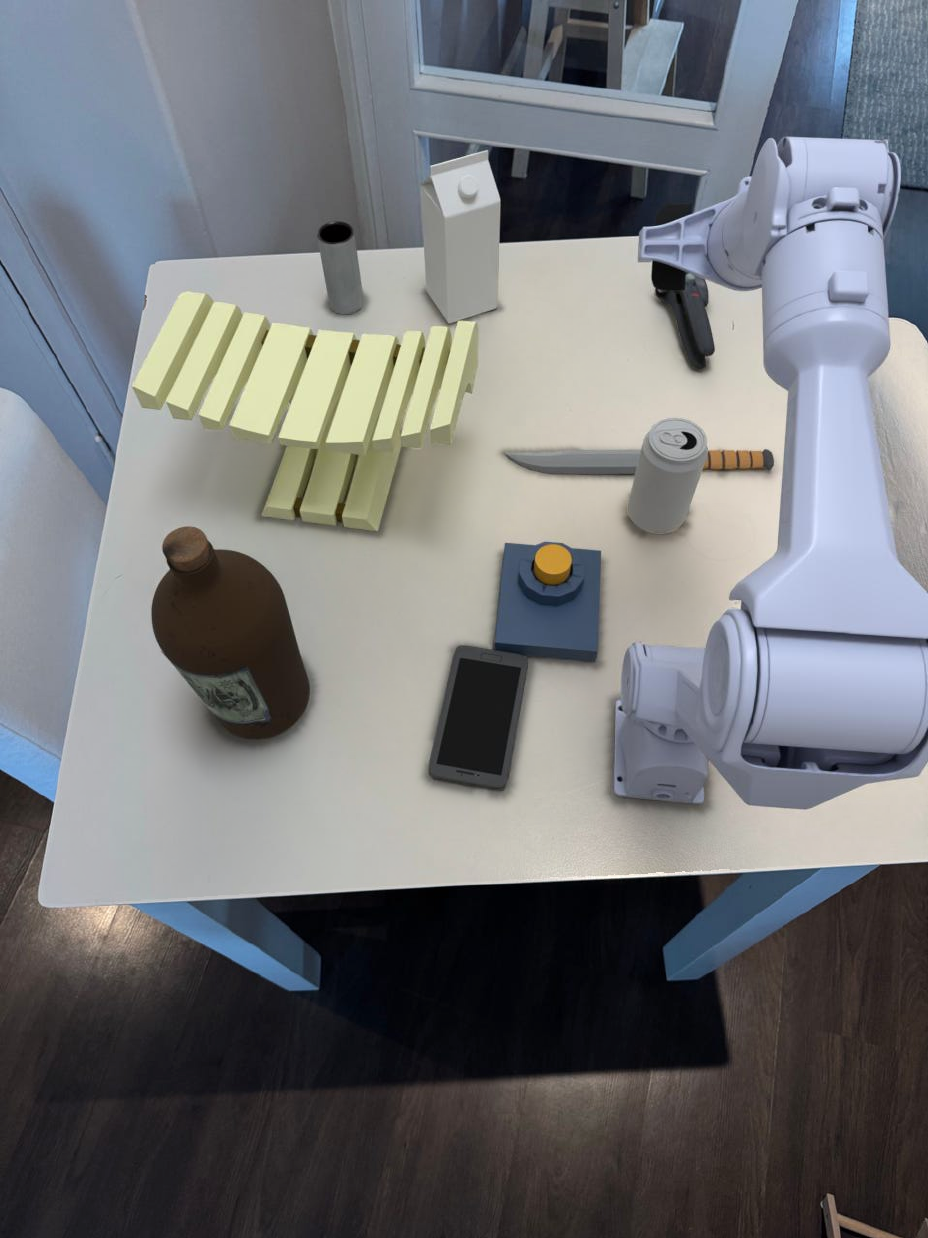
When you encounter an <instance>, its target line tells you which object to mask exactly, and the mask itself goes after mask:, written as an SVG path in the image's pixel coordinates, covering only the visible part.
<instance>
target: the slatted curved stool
mask: <svg viewBox="0 0 928 1238" xmlns="http://www.w3.org/2000/svg"><path fill="white" fill-rule="evenodd" d="M171 307H172V308H171V310H170V311H169V313H168V315H167V316H166V319H165V321H164V322H163V325H162V326H161V329H160V331H159V332H158V334H157V336H156V338H155V340H154V342H153V344H152V346H151V347H150V350H149V351H148V354H147V355H146V357H145V359H144V361H143V363H142V365H141V366H140V369H139V370H138V373H137V375H136V376H135V379H134V381H133V383H132V384H131V387H132V389H133V392H134V394H135V396H136V398H137V400H138V402H139V404H140V407H141V408H142V409H148V410H156V411H161V410H162V409H163V407H164V404H165V403H166V405H167V408H168V410H169V412H170V415H171V417H172V419H174V420H183V421H191V422H192V421H193V419H194V417H195V415H196V412H197V411H198V409H199V407H200V405H201V402H202V400H203V398H204V396H205V395H206V397H205V398H204V401H203V403H202V405H201V407H200V410H199V412H198V414H197V415H198V418H199V420H200V423H201V426H202V428H203V430H211V431H219V432H223V431H224V428H225V426H226V424H227V421H228V419H229V417H230V415H231V413H232V410H233V409H234V406H235V404H236V402H237V400H238V398H239V396H240V394H241V396H240V399H239V401H238V403H237V406H236V408H235V410H234V412H233V415H232V417H231V420H230V422H229V424H228V426H229V429H230V432H231V434H232V436H233V440H241V441H246V442H247V441H248V442H256V443H262V444H263V443H264V444H272V443H273V439H274V438H275V434H276V433H277V432H276V431H277V430H278V427H279V425H280V422H281V420H282V418H283V415H284V413H285V411H286V409H287V406H288V405H289V408H288V411H287V413H286V416H285V419H284V421H283V424H282V426H281V429H280V432H279V435H278V441H279V444H280V446H286V448H285V451H284V453H283V456H282V458H281V462H280V465H279V467H278V470H277V473H276V475H275V477H274V481H273V484H272V486H271V488H270V491H269V494H268V496H267V499H266V502H265V504H264V508H263V510H262V513H261V517H265V518H273V519H280V520H281V519H282V520H287V521H295V519H296V517H300V518H301V521H302V523H303V522H304V523H310V524H311V523H312V524H319V525H327V526H332V527H333V526H334V527H336V526H337V524H338V522H340V523H343V527H344V528H349V529H356V530H364V531H371V532H378V531H379V528H380V525H381V521H382V517H383V515H384V510H385V506H386V503H387V499H388V496H389V492H390V489H391V485H392V481H393V478H394V474H395V470H396V466H397V463H398V459H399V456H400V453H401V449H402V447H403V448H411V449H418V450H422V448H423V445H424V441H425V437H426V433H427V431H428V427H429V423H430V419H431V416H432V412H433V409H434V406H435V409H434V412H433V417H432V421H431V424H430V429H429V435H430V444H435V445H443V446H450V447H451V446H452V443H453V439H454V434H455V430H456V426H457V423H458V420H459V419H458V418H459V414H460V412H461V407H462V403H463V401H464V397H465V393H468V394H472V393H473V389H474V386H475V381H476V376H477V372H478V368H479V324H478V322H477V321H467V320H459V321H457V323H456V327H455V330H454V334H453V339H452V331H451V328H450V327H449V326H443V325H442V326H441V325H431V326H430V331H429V334H428V337H427V341H426V337H425V333H424V331H420V330H419V331H418V330H405V331H404V334H403V338H402V341H401V344H400V341H399V338H398V336H397V335H389V334H375V333H362V334H361V336H360V339H357V337H356V334H355V333H354V332H347V331H336V330H328V329H327V330H326V329H318V331H317V334H314V331H313V329H312V328H311V327H308V326H307V327H306V326H302V325H301V326H300V325H294V324H286V323H281V322H272V323H270V321H269V319H268V317H267V316H266V315H264V314H258V313H253V312H246V311H245V312H243V311H242V309H241V308H240V307H239V305H238V304H234V303H229V302H221V301H214V300H213V297H212V296H210V295H209V294H208V293H204V292H198V291H197V292H196V291H189V290H188V291H187V290H185V291H183V292H181V293H180V294H179V295H178V296H177V298H176V299H175V302H174V303H173V306H171ZM210 385H211V386H210ZM208 389H209V390H208ZM207 391H208V392H207ZM206 392H207V394H206ZM241 392H242V393H241ZM435 402H436V405H435ZM407 408H408V409H407ZM406 410H407V413H406ZM405 414H406V416H405ZM404 416H405V419H404ZM403 420H405V421H404V423H403ZM402 423H403V426H402ZM401 426H402V431H401ZM354 468H355V469H354ZM353 471H354V473H353ZM352 475H353V476H352ZM351 479H352V480H351ZM350 482H351V483H350ZM349 484H350V487H349ZM348 488H349V490H348ZM347 491H348V494H347ZM346 494H347V497H346ZM345 497H346V502H345V503H344V501H345Z"/></svg>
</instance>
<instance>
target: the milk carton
mask: <svg viewBox="0 0 928 1238" xmlns="http://www.w3.org/2000/svg"><path fill="white" fill-rule="evenodd" d="M429 170H430V171H429V173H430V175H429V176H428V177H427V178H426V179H424V180H423V181H422V182H420V184H419V188H420V189H419V191H420V203H421V204H420V205H421V221H422V222H421V223H422V239H423V240H422V241H423V254H424V255H423V256H424V272H425V290H426V293H427V295H428V296H429V297H430V299H431V300H432V301H433V303H434V304H435V306H436V308H437V309H438V311H439V312H440V313H441V315H442V316H443V318H444V319H445V320H446V322H447V323H448V324H452V323H455V322H458V321H463V320H465V319H468V318H471V317H474V316H477V315H480V314H483V313H487V312H490V311H492V310H495V309H497V308H498V306H499V269H500V238H501V237H500V231H501V197H500V193H499V190H498V187H497V183H496V181H495V178H494V174H493V171H492V168H491V163H490V161H489V150H488V149H486V150H481V151H478V152H475V153H471V154H468V155H465V156H461V157H457V158H453V159H450V160H446V161H442V162H439V163H436V164H432V165H430V166H429Z"/></svg>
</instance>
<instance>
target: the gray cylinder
mask: <svg viewBox="0 0 928 1238" xmlns="http://www.w3.org/2000/svg"><path fill="white" fill-rule="evenodd" d="M316 238H317V244H318V249H319V255H320V260H321V265H322V271H323V277H324V283H325V289H326V293H327V294H326V295H327V300H328V304H329V307H330V309H331V310H332V311H333V312H334V313H337V314H339V315H352V314H354V313H357V312H359V311H360V310H361V309H362V307H363V306H364V302H365V301H364V292H363V285H362V277H361V269H360V264H359V262H360V261H359V255H358V247H357V240H356V233H355V229H354V227H353V226H352V225H351V224H350V223H347V222H346V221H341V220H336V221H335V220H334V221H329V222H326V223H324V224H322V225H321V226H320V227H319V228H318V229H317V232H316Z"/></svg>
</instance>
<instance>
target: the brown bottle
mask: <svg viewBox="0 0 928 1238" xmlns="http://www.w3.org/2000/svg"><path fill="white" fill-rule="evenodd" d="M161 548H162V549H161V551H162V553H163V556H164V557H165V560H166V565H167V566H168V568H169V570H167V571H166V573H165V574H164V575H163V576H162V578H161V579H160V581H159V583H158V585H157V586H156V588H155V591H154V594H153V597H152V601H151V608H150V609H151V610H150V611H151V613H150V615H151V616H150V617H151V627H152V632H153V635H154V639H155V641H156V643H157V644H158V647H159V649H160V652H161V653H162V654H163V656H164V657H165V658H166V659H167V660H168V661H169V662H170V664H171V665H172V666H173V667H174V668H175V669H176V670H177V672H178V673H179V674H180V675H181V677H182V678H183V679H184V680H185V681H186V683H187V684H188V685H189V687H190V688H191V689H192V690H193V691H194V693H195V694H196V695H197V696H198V697H199V699H200V700H201V701H202V703H203V704H204V705H205V706H206V708H207V709H208V710H209V711H210V713H211V714H212V715H213V717H214V718H215V719H216V722H218V724H219V725H220V726H221V727H222V728H223V729H224V730H225V731H227V732H228V733H230V734H232V735H233V736H234V737H235V736H236V737H238V738H241V739H244V740H245V739H246V740H264V739H269V738H272V737H275V736H279V735H280V734H282V733H284V732H285V731H287V730H289V729H290V728H291V727H292V726H293V725H294V724H295V723H296V722H298V720H299V719H300V718H301V717H302V715H303V714H304V712H305V710H306V708H307V705H308V702H309V698H310V689H311V688H310V681H309V678H308V674H307V671H306V667H305V664H304V662H303V659H302V655H301V652H300V647H299V644H298V641H297V637H296V633H295V630H294V626H293V622H292V619H291V615H290V610H289V607H288V603H287V599H286V596H285V593H284V591H283V588H282V586H281V584H280V583H279V581H278V580H277V578H276V576H274V574H273V573H272V572H271V571H270V570H269V569H268V568H267V567H266V566H264V565H263V564H262V563H261V562H259V561H258V560H257V559H255V558H254V557H252V556H250V555H248V554H245V553H243V552H241V551H237V550H233V549H232V550H231V549H223V548H221V549H219V548H217V549H214V546H213V544H212V543H211V542H210V541H209V539H208V537H207V535H206V533H205V532H204V531H203V530H201V529H200V528H198V527H196V526H191V525H190V526H188V525H187V526H181V527H180V526H179V527H178V528H175V529H173V530H172V531H170V532H169V533H168V534H167V535H166V536H165V538H164V539H163V541H162V546H161Z"/></svg>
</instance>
